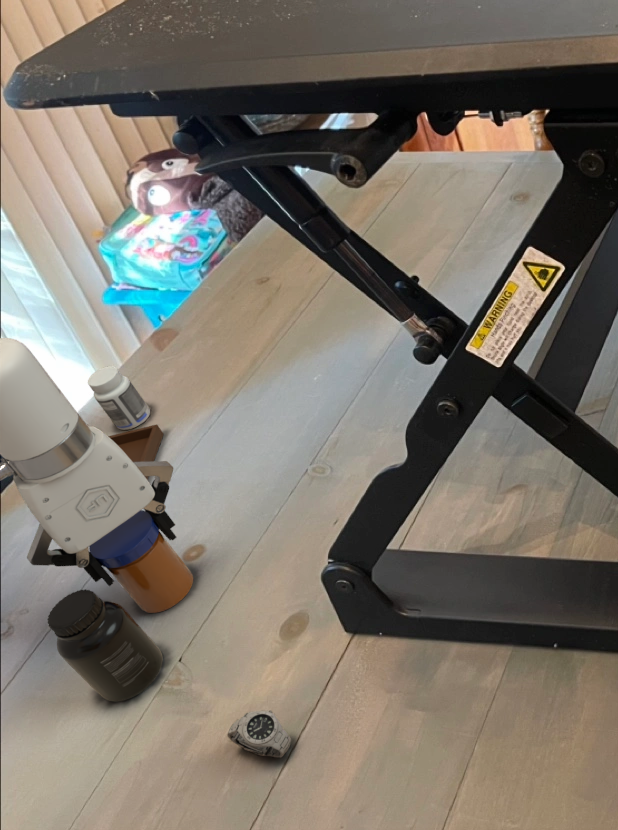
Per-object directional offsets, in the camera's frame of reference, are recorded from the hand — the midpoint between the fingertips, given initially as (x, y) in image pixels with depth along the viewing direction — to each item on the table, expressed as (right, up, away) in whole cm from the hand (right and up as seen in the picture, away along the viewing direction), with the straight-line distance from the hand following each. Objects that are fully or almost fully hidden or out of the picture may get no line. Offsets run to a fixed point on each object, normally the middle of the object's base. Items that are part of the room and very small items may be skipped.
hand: (137, 555), depth 119 cm
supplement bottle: (+2, -12, -5) cm, 13 cm away
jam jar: (+1, -5, +4) cm, 7 cm away
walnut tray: (-15, +5, +22) cm, 27 cm away
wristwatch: (+21, -16, -14) cm, 30 cm away
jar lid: (-1, +3, -2) cm, 3 cm away
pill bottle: (-17, +12, +31) cm, 37 cm away
